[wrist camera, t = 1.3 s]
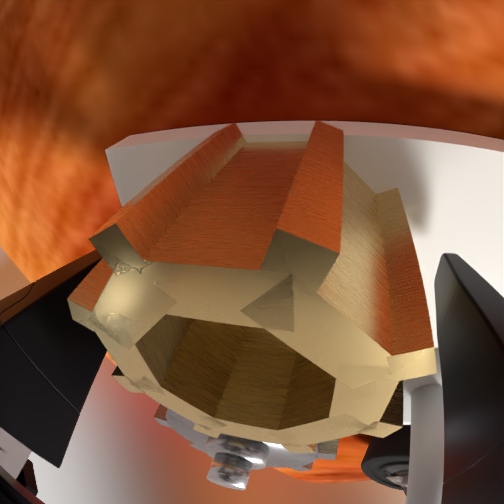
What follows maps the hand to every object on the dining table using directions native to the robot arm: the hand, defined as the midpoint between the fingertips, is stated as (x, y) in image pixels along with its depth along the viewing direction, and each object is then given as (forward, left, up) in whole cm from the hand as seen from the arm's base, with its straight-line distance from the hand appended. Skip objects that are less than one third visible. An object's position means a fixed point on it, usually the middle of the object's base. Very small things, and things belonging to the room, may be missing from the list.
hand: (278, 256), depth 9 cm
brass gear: (0, 0, -1) cm, 1 cm away
